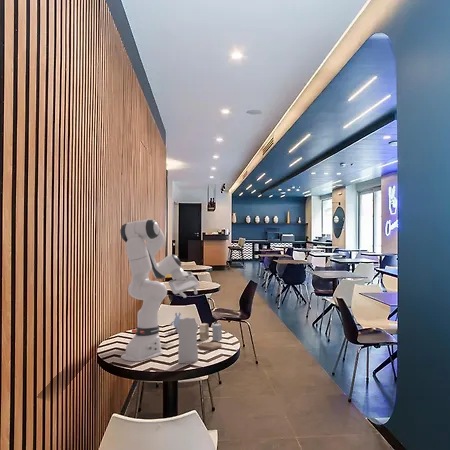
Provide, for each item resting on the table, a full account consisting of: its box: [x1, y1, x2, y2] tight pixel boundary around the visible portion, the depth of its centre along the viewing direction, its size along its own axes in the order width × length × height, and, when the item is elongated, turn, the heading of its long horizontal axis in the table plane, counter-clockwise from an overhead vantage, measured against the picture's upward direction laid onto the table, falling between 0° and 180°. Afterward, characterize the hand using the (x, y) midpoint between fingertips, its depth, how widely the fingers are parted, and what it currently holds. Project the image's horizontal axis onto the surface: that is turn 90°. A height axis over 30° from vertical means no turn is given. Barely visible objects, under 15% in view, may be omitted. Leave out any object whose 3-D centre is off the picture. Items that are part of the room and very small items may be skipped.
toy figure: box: [169, 312, 182, 332], centre depth 255 cm, size 11×6×12 cm, turn 107°
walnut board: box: [197, 341, 222, 351], centre depth 217 cm, size 13×13×1 cm
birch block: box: [198, 322, 210, 341], centre depth 234 cm, size 4×4×9 cm
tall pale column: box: [176, 317, 199, 365], centre depth 192 cm, size 11×4×22 cm, turn 106°
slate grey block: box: [211, 323, 223, 342], centre depth 231 cm, size 4×4×9 cm
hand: (191, 295), depth 242 cm, fingers open, 8 cm apart
